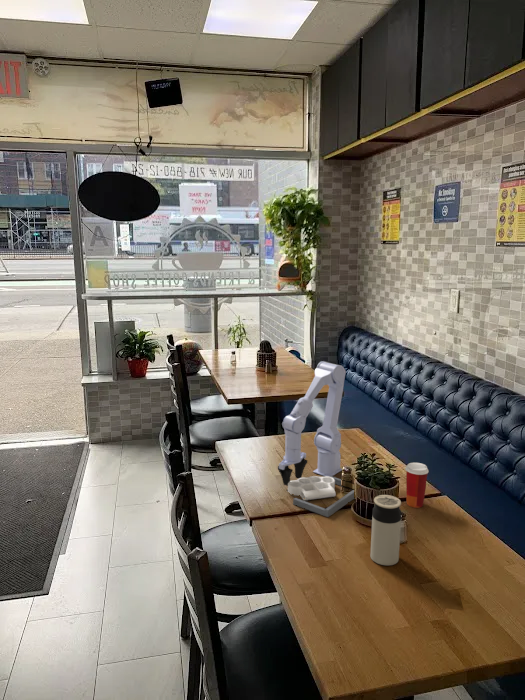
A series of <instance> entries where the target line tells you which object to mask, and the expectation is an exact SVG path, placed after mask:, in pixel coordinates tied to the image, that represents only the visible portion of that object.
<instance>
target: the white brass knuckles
mask: <svg viewBox="0 0 525 700" xmlns="http://www.w3.org/2000/svg"><path fill="white" fill-rule="evenodd" d="M335 485H336V484H335V480H334V478H332V477H329V476H316V475H311V476H308V477H307V476H306V477H305V476H303V477H301V478H299V479H298V478H297V479H294V480H290V482H288V486H287V493H288V492H289V493H290V495H292V494H294V495H293V496H299V495H300V496H299V497H301V500H303V501H306V502H307V501H311V500H317V499H327V498H333V497H336V495H337V494H336V491H335V489H336V488H335ZM289 493H288V494H289ZM304 498H305V499H304Z"/></svg>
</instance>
